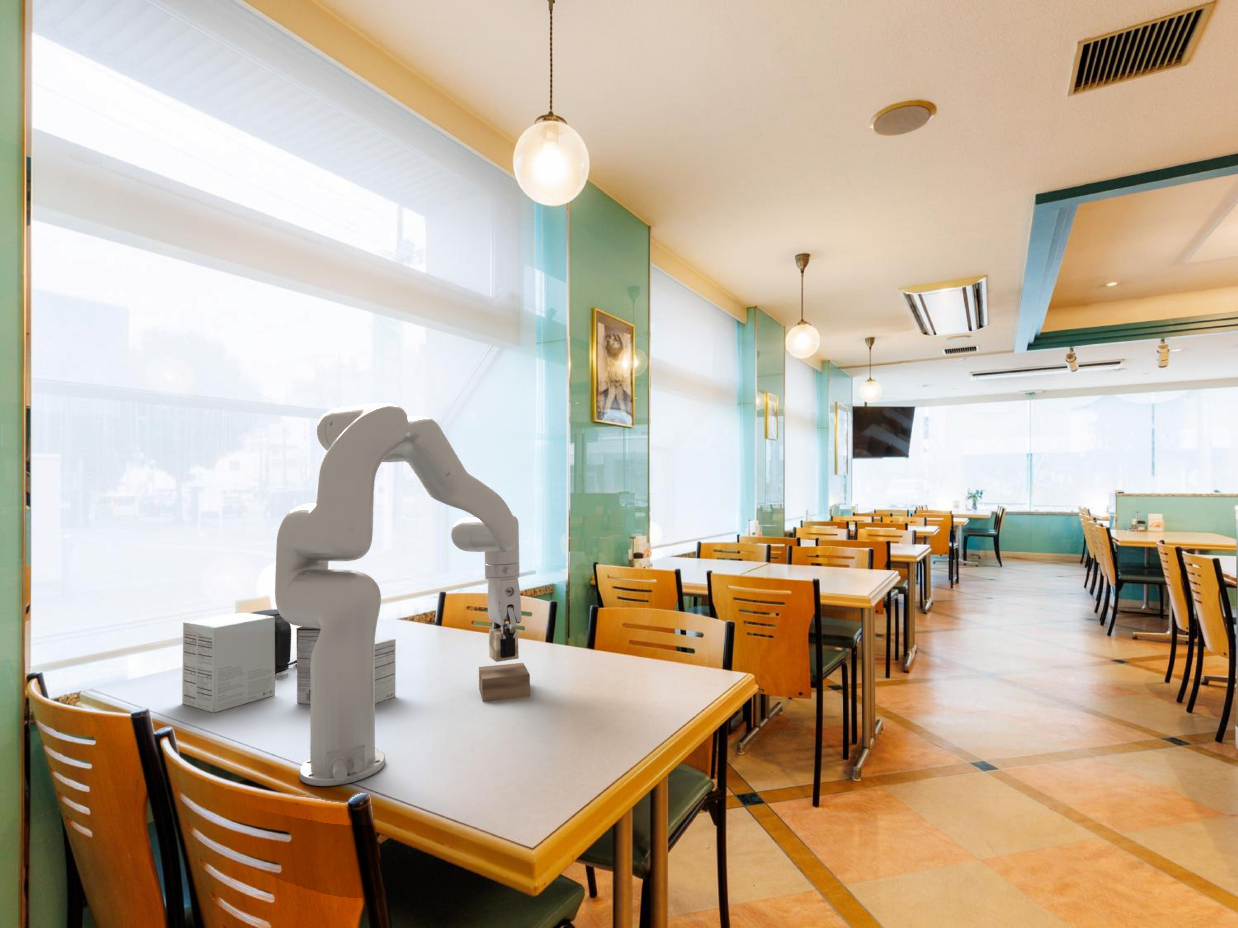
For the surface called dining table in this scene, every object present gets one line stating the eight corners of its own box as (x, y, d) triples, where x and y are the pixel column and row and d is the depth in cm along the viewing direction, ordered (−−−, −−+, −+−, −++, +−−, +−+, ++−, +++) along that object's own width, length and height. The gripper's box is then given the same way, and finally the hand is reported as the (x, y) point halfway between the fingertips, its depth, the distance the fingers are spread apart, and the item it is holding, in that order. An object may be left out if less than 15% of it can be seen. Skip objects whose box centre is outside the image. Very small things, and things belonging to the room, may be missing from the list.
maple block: (518, 658, 141) (518, 630, 141) (496, 661, 138) (496, 633, 139) (510, 653, 145) (510, 626, 146) (489, 656, 143) (489, 629, 143)
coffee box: (323, 690, 146) (323, 619, 146) (349, 691, 144) (348, 619, 145) (295, 703, 137) (295, 627, 137) (322, 705, 135) (322, 628, 136)
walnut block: (530, 697, 138) (529, 674, 138) (482, 703, 135) (482, 679, 135) (523, 684, 148) (523, 662, 148) (479, 689, 145) (478, 666, 145)
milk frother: (238, 673, 161) (238, 614, 162) (288, 658, 176) (288, 603, 177) (283, 677, 157) (283, 616, 158) (330, 661, 172) (330, 605, 173)
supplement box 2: (345, 702, 137) (344, 642, 138) (373, 692, 144) (372, 634, 144) (369, 706, 134) (369, 645, 134) (397, 696, 140) (396, 637, 141)
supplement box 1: (243, 687, 150) (243, 611, 150) (276, 695, 143) (276, 615, 144) (180, 703, 138) (181, 621, 139) (213, 713, 132) (213, 627, 132)
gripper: (532, 573, 137) (533, 660, 136) (506, 566, 152) (507, 644, 151) (498, 576, 133) (499, 665, 133) (474, 568, 148) (476, 648, 148)
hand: (503, 653), depth 142 cm, fingers closed on maple block, 5 cm apart
